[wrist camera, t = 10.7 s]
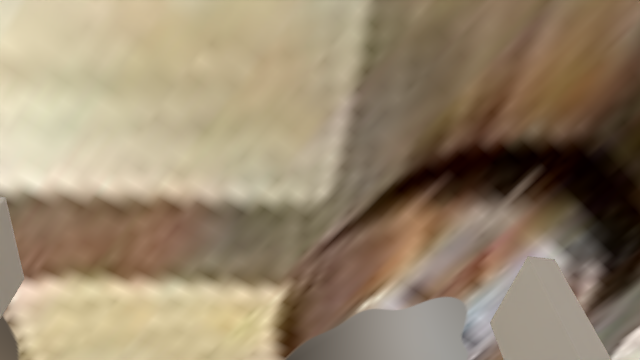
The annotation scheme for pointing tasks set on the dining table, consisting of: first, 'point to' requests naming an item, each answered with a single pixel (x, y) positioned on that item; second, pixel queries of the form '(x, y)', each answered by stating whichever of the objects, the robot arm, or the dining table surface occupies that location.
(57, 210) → the dining table surface
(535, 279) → the robot arm
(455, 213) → the dining table surface
